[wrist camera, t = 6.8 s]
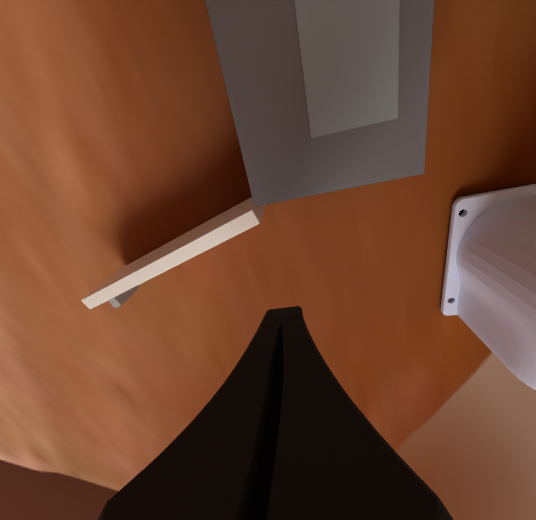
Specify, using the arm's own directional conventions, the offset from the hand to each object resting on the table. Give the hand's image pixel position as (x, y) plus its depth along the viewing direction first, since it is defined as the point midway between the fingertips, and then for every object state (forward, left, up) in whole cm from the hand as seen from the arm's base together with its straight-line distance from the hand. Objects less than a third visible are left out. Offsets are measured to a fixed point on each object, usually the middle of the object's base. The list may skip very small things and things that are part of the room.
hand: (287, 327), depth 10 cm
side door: (+1, +7, -9) cm, 12 cm away
